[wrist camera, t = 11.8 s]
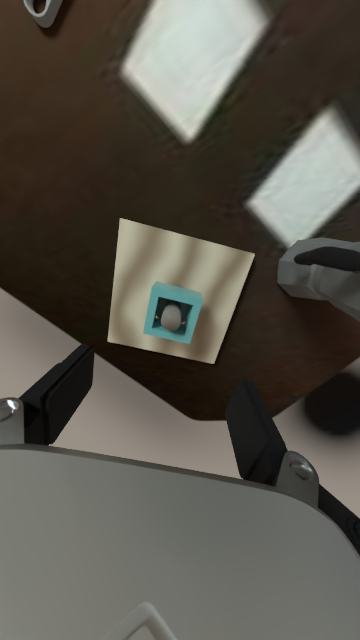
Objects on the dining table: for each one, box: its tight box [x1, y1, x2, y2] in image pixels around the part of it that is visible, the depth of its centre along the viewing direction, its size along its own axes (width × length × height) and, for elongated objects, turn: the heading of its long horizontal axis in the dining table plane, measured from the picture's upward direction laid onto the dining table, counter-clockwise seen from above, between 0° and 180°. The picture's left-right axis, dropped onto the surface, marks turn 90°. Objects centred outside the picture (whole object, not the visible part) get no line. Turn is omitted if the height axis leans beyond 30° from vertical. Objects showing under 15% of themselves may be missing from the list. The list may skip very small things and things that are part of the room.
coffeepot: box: [277, 238, 360, 321], centre depth 20 cm, size 15×9×18 cm, turn 74°
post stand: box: [108, 218, 255, 364], centre depth 26 cm, size 20×20×10 cm
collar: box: [143, 281, 203, 344], centre depth 24 cm, size 6×6×4 cm
